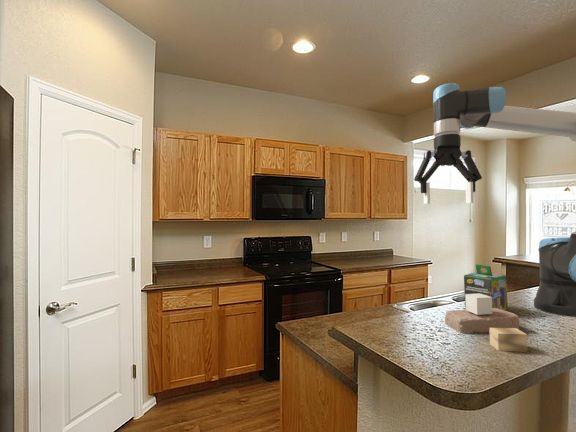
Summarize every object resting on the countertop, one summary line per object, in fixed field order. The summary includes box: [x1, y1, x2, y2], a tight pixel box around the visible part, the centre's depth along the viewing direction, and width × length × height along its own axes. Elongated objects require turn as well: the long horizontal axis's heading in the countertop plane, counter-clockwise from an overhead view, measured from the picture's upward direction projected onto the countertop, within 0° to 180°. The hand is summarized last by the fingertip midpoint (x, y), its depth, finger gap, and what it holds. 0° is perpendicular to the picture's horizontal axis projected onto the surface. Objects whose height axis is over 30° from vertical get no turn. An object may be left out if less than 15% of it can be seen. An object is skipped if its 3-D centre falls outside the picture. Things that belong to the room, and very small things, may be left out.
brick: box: [444, 308, 520, 334], centre depth 89 cm, size 16×8×5 cm, turn 93°
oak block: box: [489, 328, 528, 353], centre depth 75 cm, size 6×4×4 cm, turn 82°
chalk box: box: [463, 263, 509, 311], centre depth 105 cm, size 9×9×15 cm
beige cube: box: [464, 293, 492, 315], centre depth 89 cm, size 4×4×4 cm
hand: (448, 203), depth 101 cm, fingers open, 13 cm apart
